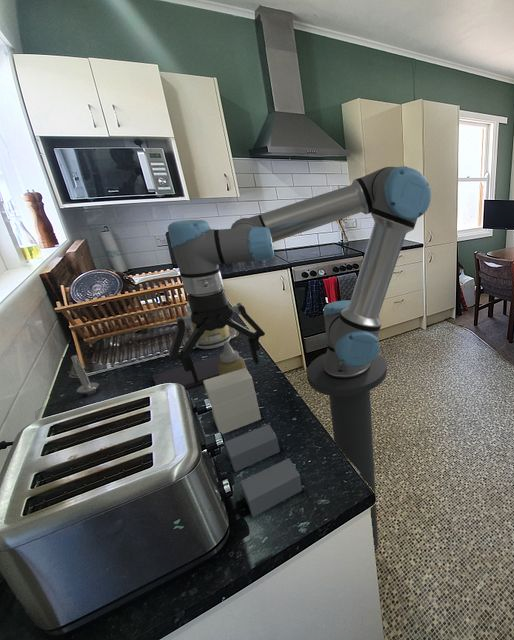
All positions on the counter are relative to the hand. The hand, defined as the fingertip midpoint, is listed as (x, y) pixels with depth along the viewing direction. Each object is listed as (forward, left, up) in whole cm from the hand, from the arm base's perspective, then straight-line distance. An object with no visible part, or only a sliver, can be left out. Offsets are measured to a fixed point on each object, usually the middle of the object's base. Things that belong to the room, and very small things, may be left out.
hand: (227, 370), depth 87 cm
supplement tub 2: (-4, -54, -16) cm, 57 cm away
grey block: (0, +15, -16) cm, 22 cm away
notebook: (+5, -32, -16) cm, 36 cm away
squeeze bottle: (-3, -12, -16) cm, 20 cm away
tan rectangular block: (0, 0, -7) cm, 7 cm away
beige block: (0, 0, -11) cm, 11 cm away
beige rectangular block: (0, 0, -16) cm, 16 cm away
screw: (+31, -40, -16) cm, 53 cm away
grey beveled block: (0, +29, -16) cm, 33 cm away
